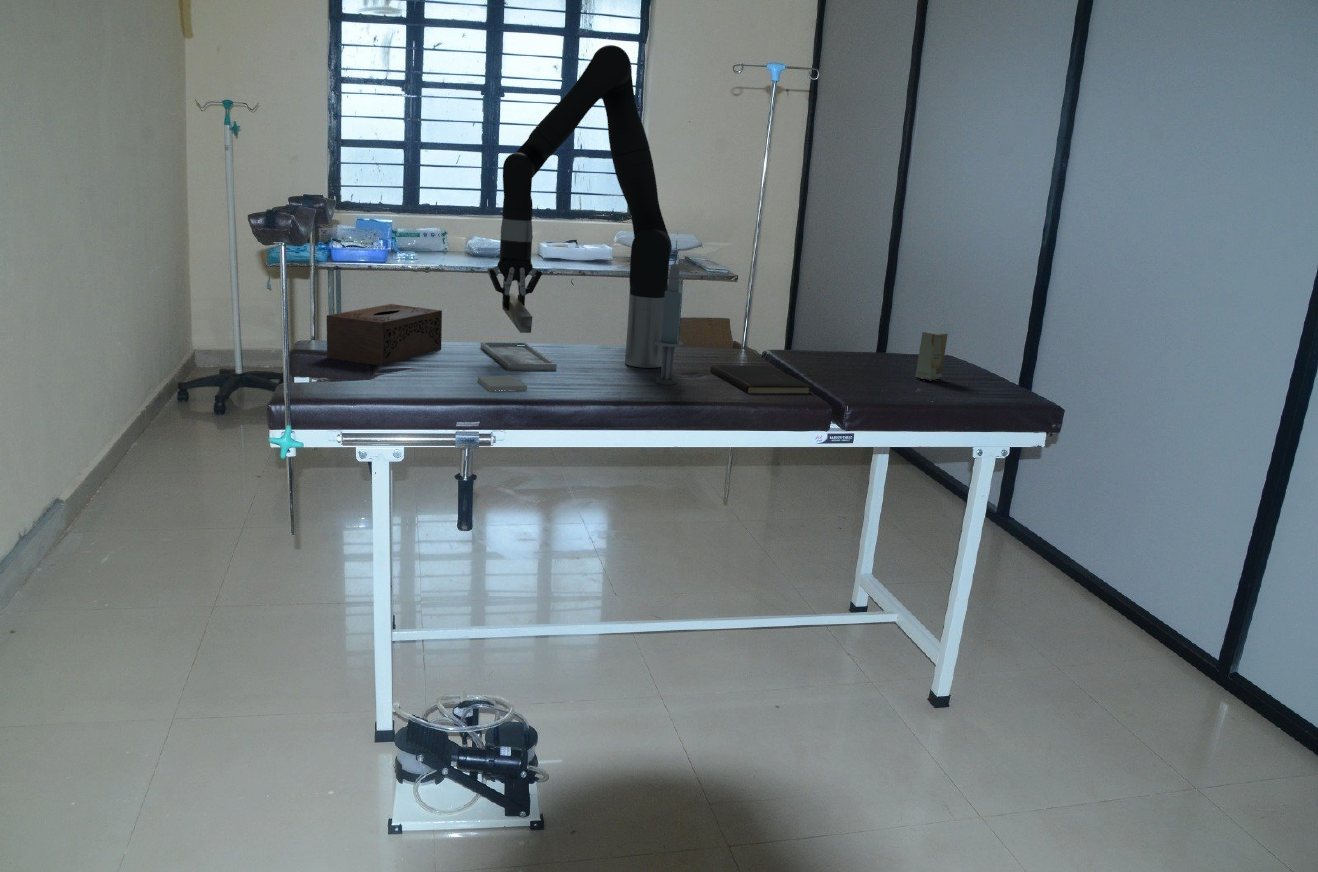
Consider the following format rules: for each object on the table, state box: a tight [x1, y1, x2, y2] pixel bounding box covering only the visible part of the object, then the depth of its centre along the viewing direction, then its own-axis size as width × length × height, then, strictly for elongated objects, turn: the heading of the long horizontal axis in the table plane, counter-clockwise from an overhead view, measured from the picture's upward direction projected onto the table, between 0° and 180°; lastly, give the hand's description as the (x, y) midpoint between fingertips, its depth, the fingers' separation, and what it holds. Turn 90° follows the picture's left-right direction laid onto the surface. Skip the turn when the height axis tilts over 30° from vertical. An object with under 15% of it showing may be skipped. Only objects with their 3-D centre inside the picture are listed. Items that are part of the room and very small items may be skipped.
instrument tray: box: [480, 341, 558, 372], centre depth 248 cm, size 12×28×2 cm, turn 22°
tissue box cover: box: [326, 303, 443, 367], centre depth 242 cm, size 26×14×10 cm, turn 161°
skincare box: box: [915, 330, 949, 379], centre depth 261 cm, size 6×4×12 cm
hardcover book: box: [709, 364, 813, 395], centre depth 242 cm, size 16×23×2 cm
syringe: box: [655, 230, 684, 385], centre depth 230 cm, size 5×6×35 cm
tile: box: [477, 375, 528, 392], centre depth 218 cm, size 8×2×10 cm
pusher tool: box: [502, 292, 533, 334], centre depth 247 cm, size 3×18×4 cm, turn 22°
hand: (513, 309), depth 250 cm, fingers closed on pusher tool, 2 cm apart
